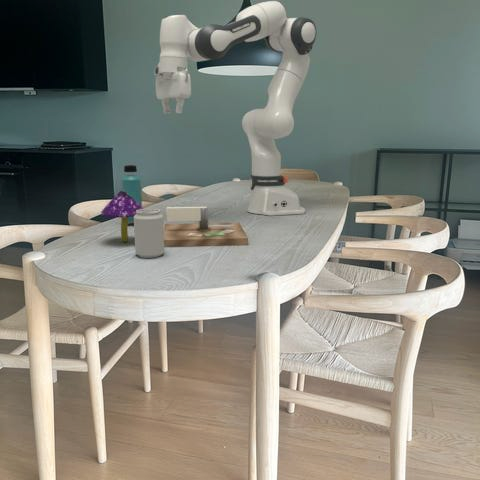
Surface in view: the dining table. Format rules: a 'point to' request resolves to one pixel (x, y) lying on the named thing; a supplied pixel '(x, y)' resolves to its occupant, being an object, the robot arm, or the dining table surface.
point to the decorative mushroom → (122, 210)
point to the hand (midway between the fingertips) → (172, 113)
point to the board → (203, 235)
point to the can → (149, 233)
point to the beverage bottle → (132, 186)
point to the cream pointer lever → (192, 216)
